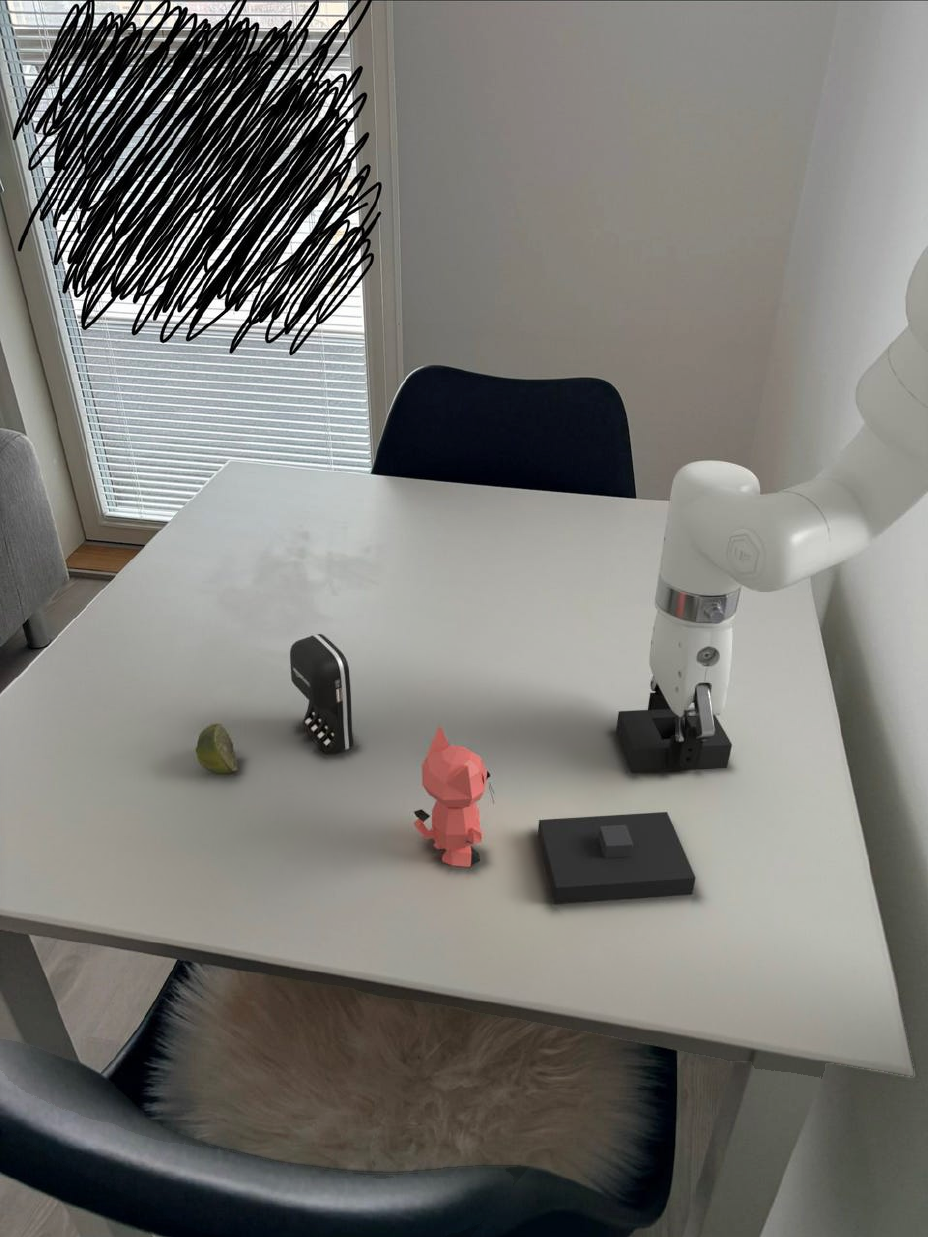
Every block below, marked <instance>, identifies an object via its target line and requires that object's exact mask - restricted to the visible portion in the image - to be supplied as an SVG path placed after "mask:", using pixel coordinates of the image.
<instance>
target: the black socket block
mask: <svg viewBox="0 0 928 1237" xmlns="http://www.w3.org/2000/svg"><path fill="white" fill-rule="evenodd" d="M713 721H714V728H715V733H714V735H713V736H710V737H708V738H707V739H706V740H705V741H703V746H702V752H701V757H700V762H699V766H698V767H697V768H695V769H694V770H703V769H704V770H706V769H721V768H722V769H724V768H728V765H729V761H730V756H731V752H732V747H733V744H732V741H731V740H730V737H729V736H728V735H727V733H726V731H725V729H724V728H723V726H722V724H721V723H720V721H719V719H718V717H717V715H713ZM695 724H696V716H690V717H685V728H688V727H693V726H694V725H695ZM671 735H675V713H674V712H673V711H672V710H671V709H658V710H648V709H635V710H618V713H617V721H616V728H615V736H616V738H617V741H618V743H619V745H620V748H621V750H622V752H623V755H624V757H625V760H626V762H627V765H628V767H629V770H630V772H631V774H635V773H637V774H639V773H652V772H653V773H654V772H668V771H670V772H671V771H672V770H669V769H668V767H667V765H666V762H667V757H668V751H669V745H670V739H671ZM687 770H690V769H679V770H678V771H687Z"/></svg>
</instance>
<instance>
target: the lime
mask: <svg viewBox="0 0 928 1237" xmlns="http://www.w3.org/2000/svg"><path fill="white" fill-rule="evenodd" d="M195 753H196V758H197V760H198V763H199V764H200V766H201V767H202V768H203V769H205V770H207V771H209V772H213V773H216V774H231V773H234V772H236V771H237V770H238V760H237V755H236V752H235V749H234V744H233V741H232V738H231V736H230V734H229V732H228V731H227V730H226V728H225V727H224V726H223V725H222V724H221V723H211V724H209V725H207V726H206V727H205V728H204V729H203V730H202V731H201V732H200V734H199V736H198V739H197V744H196V748H195Z"/></svg>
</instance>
